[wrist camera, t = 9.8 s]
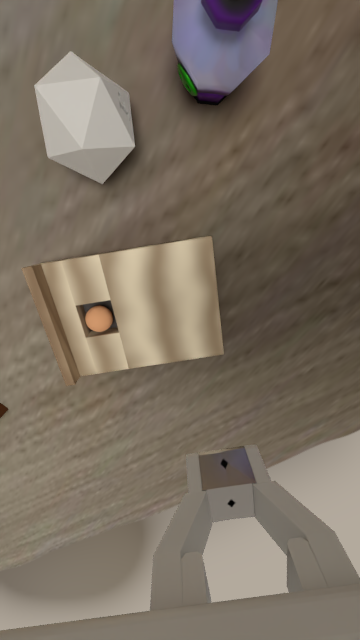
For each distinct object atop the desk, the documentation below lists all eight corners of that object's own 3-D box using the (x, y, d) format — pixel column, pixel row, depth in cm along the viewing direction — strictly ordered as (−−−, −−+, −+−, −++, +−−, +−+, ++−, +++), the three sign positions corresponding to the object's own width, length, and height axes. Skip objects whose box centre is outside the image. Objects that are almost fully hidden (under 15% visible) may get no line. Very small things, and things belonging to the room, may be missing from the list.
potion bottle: (155, 95, 26) (144, -10, 15) (193, -5, 23) (215, -225, 12) (225, 139, 27) (262, 76, 16) (267, 50, 25) (346, -98, 14)
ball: (114, 301, 33) (99, 310, 30) (120, 324, 34) (106, 336, 31) (92, 302, 34) (76, 311, 31) (99, 325, 35) (84, 336, 32)
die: (122, 201, 30) (157, 145, 21) (39, 187, 25) (41, 110, 17) (114, 133, 30) (146, 50, 21) (29, 107, 25) (27, -11, 17)
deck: (208, 235, 31) (214, 236, 27) (220, 346, 37) (226, 361, 32) (41, 263, 31) (21, 268, 27) (78, 368, 37) (66, 385, 33)
